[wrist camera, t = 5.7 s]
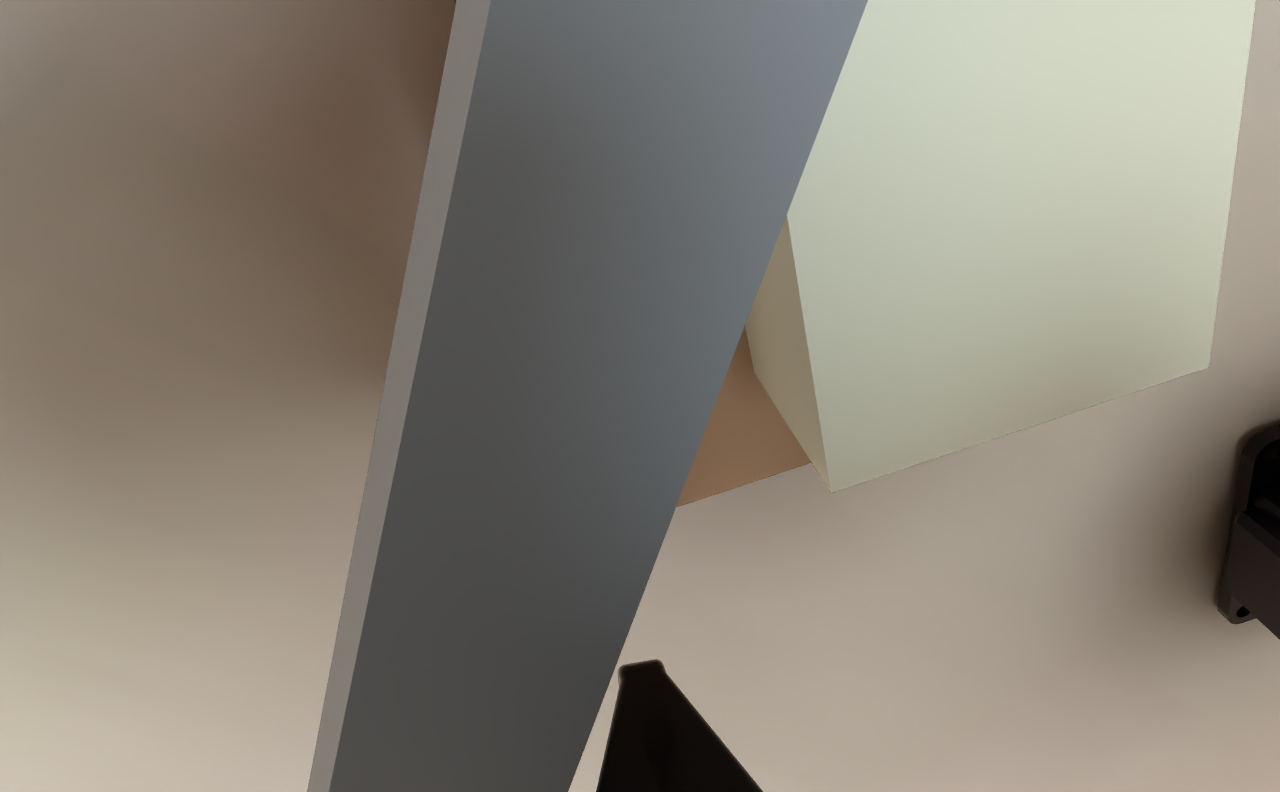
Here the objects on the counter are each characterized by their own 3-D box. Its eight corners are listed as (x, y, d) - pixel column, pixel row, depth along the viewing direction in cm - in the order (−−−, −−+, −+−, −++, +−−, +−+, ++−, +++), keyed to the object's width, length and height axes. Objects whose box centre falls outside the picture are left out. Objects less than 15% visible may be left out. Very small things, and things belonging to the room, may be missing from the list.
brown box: (1074, -391, 13) (1302, -466, 10) (1061, 242, 19) (1204, 332, 15) (393, -195, 13) (387, -205, 9) (586, 396, 18) (626, 523, 15)
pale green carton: (1076, -183, 11) (1279, -187, 8) (1067, 271, 14) (1209, 367, 12) (667, -60, 11) (747, -27, 8) (754, 373, 14) (831, 492, 11)
